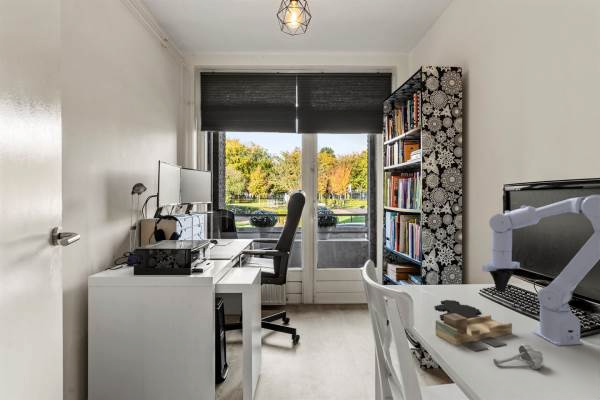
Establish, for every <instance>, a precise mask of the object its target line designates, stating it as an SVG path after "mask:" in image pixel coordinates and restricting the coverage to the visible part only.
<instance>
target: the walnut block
mask: <svg viewBox="0 0 600 400" xmlns="http://www.w3.org/2000/svg"><path fill="white" fill-rule="evenodd" d="M443 323H445V324H447V325H449V326H451V327H453V328H455V329H457V330H458V333H461V334H466V333H467V318H465V317H463V316H461V315H458V314H456V313H454V314H448V315H444V320H443Z"/></svg>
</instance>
